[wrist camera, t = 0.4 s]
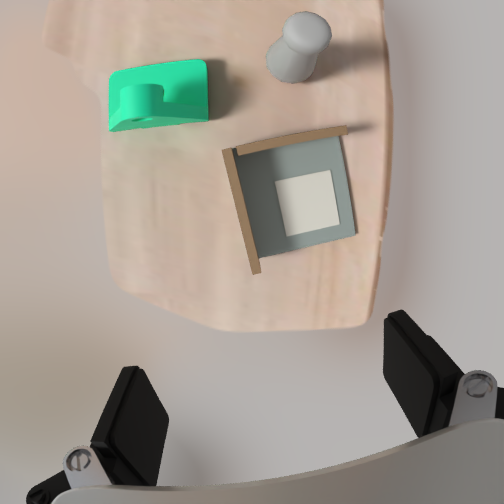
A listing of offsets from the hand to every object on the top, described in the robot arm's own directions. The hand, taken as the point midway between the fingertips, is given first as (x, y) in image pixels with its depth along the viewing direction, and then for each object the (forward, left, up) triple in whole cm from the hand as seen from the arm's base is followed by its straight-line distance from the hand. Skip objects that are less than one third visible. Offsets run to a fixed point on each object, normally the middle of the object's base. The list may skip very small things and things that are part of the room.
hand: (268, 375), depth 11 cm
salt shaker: (-18, +9, -30) cm, 35 cm away
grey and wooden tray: (-2, +6, -29) cm, 30 cm away
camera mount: (-17, -7, -30) cm, 35 cm away
